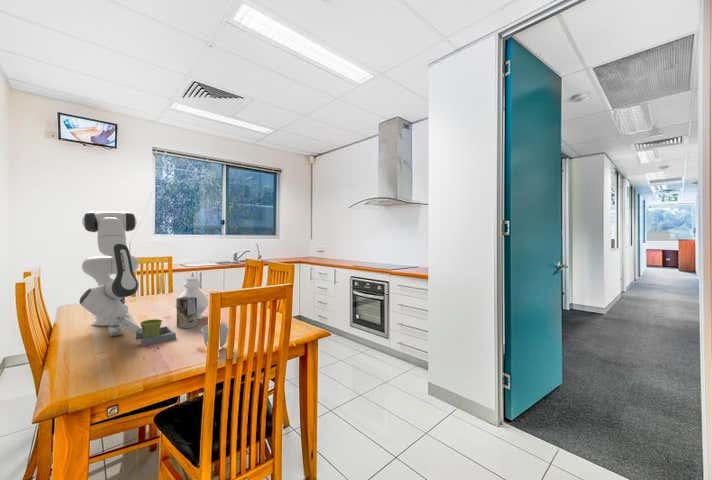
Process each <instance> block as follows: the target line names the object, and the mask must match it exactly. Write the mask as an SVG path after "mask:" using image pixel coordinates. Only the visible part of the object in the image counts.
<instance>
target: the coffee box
mask: <svg viewBox="0 0 712 480" xmlns="http://www.w3.org/2000/svg"><path fill="white" fill-rule="evenodd" d="M176 303H177V309H176V327H177V328H183V329H190V328H194V327H197V326H198V320H197V298H194V297H181V298H179V297H178V298H176V301H175V304H176ZM196 325H197V326H196Z"/></svg>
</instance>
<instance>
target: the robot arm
mask: <svg viewBox="0 0 712 480" xmlns="http://www.w3.org/2000/svg"><path fill="white" fill-rule="evenodd" d="M82 226H83V228H84V229H85V230H86V231H87V232H90V233H97V247H98V251H99V252H100V253H101V254H102V255H95V256H91V257H90V256H89V257H87V258H85V259H84V260H83V262H82V264H81V269H82V272H83V273H84V274H86V275H87V276H89V277H90V278H92V279H94V281H95V282H96V283H97V285H98V286H96V287H91V288H89V289H87V290H85V292H83V294H82V295H81V297H80V298H79V304H80V306H81V307H82V308H83V309H84V310H86V311H87V312H89V313H90V314H92V315H93V316H95V317H94V320H93V321H92V322H91V324H90V325H91V326H92V327H93V326H102V327H103V326H105V327H106V326H109V324H110V325H111V326H113V325H115V324H116V325H120V326H121V327H122V328H124V331H125V330H126V331H127V332H128V333H130V334H132V335H136V332H138V333H140V334H142V333H143V330H142V327H141V326H139V325H138V324H137V322H136V321H135V319H134V318H133V317H132V316H131V315H129V306H128V305H127V304H126V298H127V297H131V296H133V295H135V294H136V293H137V291H138V289H139V281H138V279H137V277H136V276H135V273H134V272H136V271H137V270H138V269H139V266H140V263H139V259H138V258H137V256H134V255H132V254H131V253H130V250H129V248H128V245H127V238H126V237H127V235H126V232H132V231H133V230H135V229H136V227H137V218H136V216H135V214H134V213H133V212H129V211H114V210H110V211H108V210H107V211H89V212H86V213H84V215H83V217H82ZM111 275H113V276H114V275H115V277H114V279H113V277H112V278H111ZM120 299H121V300H120ZM119 300H120V302H122V304H123V306H124V307H123V306H121V305H120V304H118V301H119Z"/></svg>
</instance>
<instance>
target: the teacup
mask: <svg viewBox="0 0 712 480" xmlns="http://www.w3.org/2000/svg"><path fill="white" fill-rule="evenodd" d="M219 324H220V347H223V346H224V345H225V344H226V343H227V341H228V340H227V339H228V332H229V329H228V326H230V325H229V324H227V323H219ZM200 330H201V332H202V334H203V340H204V341H203V342H204V345H205V347H206V348H208V347H207V342H208V324H206V325H205V326H203V327H202V328H201V329H200Z"/></svg>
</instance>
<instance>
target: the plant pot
mask: <svg viewBox="0 0 712 480" xmlns="http://www.w3.org/2000/svg"><path fill="white" fill-rule="evenodd" d="M162 323H163V320H162V319H159V318H158V319H154V318H153V319H147V320H142V321H141V322H139V324H140V328H141V329H142V330H143V337H142V339H143V338H149V337H154V336H159V335H160V334H159V330H160V327H161V325H162Z"/></svg>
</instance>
